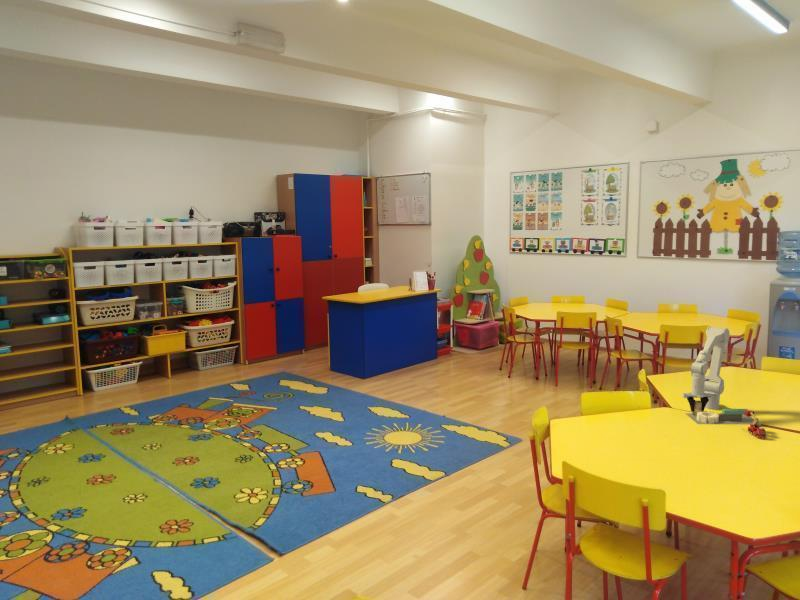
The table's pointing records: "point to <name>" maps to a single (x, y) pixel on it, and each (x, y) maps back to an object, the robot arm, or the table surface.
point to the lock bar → (734, 411)
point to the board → (744, 420)
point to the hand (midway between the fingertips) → (697, 411)
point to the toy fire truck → (755, 430)
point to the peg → (697, 407)
